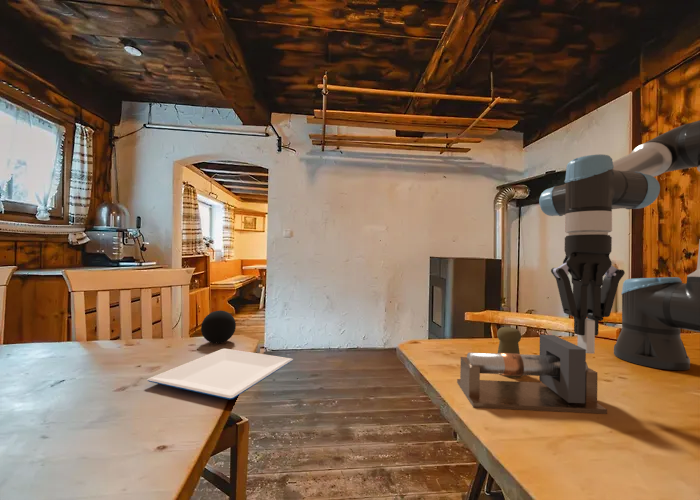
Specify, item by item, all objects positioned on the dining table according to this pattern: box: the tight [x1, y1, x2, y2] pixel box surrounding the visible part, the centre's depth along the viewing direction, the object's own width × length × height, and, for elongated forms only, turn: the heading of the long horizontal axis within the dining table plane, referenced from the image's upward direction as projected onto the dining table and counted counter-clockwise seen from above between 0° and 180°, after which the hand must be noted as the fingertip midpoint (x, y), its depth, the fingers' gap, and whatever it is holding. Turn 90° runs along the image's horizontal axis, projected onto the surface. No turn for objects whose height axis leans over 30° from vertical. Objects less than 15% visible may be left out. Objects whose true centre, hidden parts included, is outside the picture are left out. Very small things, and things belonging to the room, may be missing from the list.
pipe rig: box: [456, 352, 608, 415], centre depth 63 cm, size 24×11×9 cm, turn 86°
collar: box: [538, 334, 587, 403], centre depth 62 cm, size 3×10×10 cm, turn 176°
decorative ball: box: [200, 310, 237, 344], centre depth 96 cm, size 10×10×10 cm
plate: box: [146, 348, 294, 400], centre depth 71 cm, size 22×22×2 cm
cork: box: [496, 326, 524, 379], centre depth 75 cm, size 6×6×11 cm
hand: (585, 351), depth 62 cm, fingers closed
